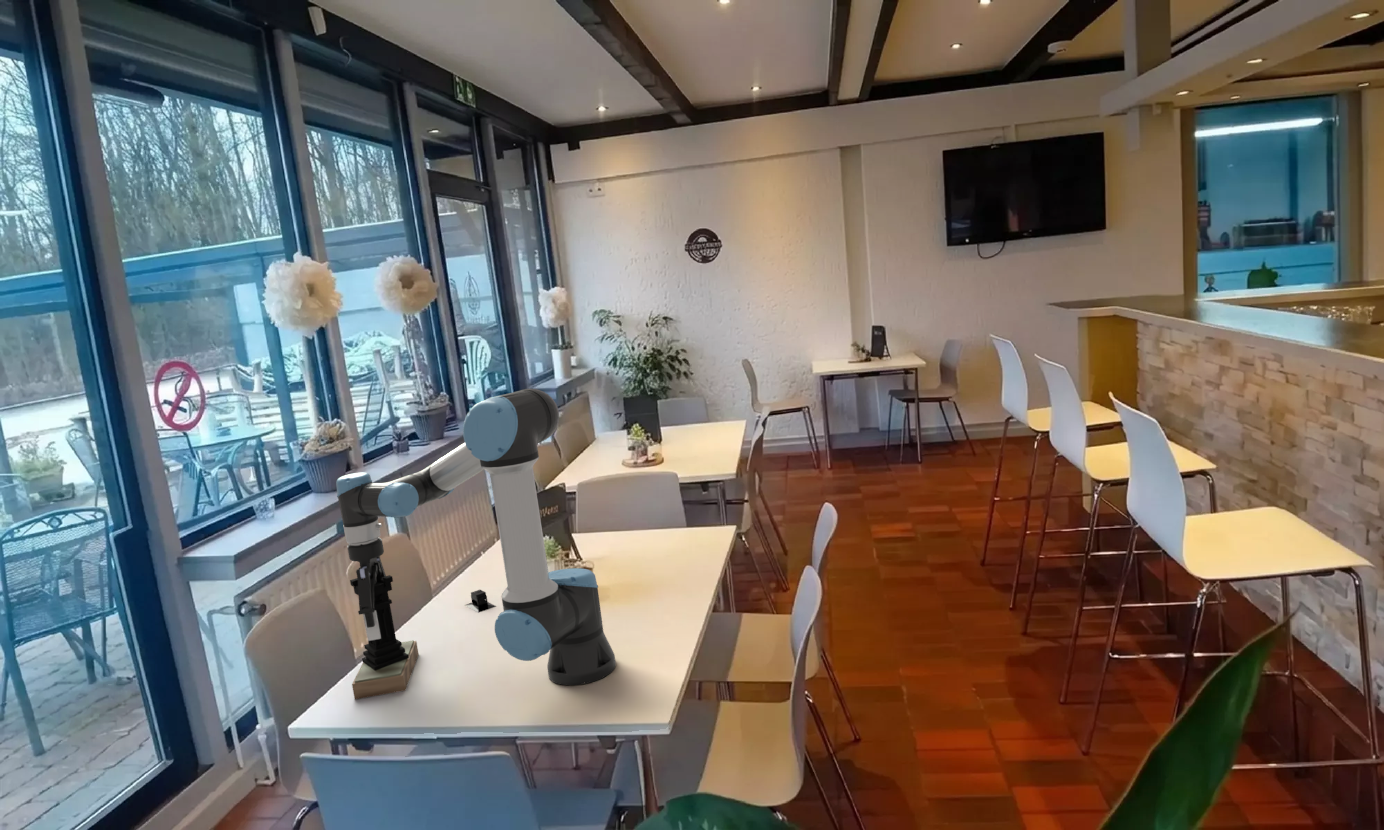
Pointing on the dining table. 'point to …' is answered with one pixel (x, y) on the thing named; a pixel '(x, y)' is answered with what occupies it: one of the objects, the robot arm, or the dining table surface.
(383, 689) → the walnut stand
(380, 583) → the chess piece
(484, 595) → the black blocky piece
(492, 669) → the dining table surface
